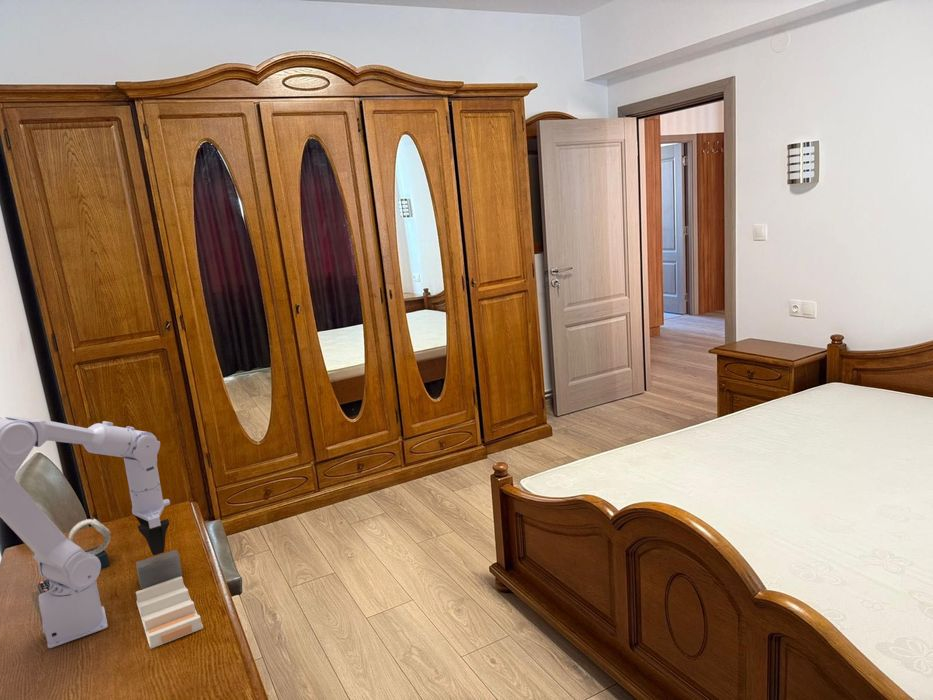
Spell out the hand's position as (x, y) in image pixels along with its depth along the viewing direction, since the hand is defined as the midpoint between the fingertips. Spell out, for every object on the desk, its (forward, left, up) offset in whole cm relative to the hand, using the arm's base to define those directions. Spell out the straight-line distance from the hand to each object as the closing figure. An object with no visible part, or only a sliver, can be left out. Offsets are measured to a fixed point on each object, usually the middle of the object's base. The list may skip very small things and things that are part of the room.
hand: (155, 545), depth 130 cm
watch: (-11, +16, -8) cm, 21 cm away
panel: (0, 0, -8) cm, 8 cm away
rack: (-1, -15, -8) cm, 17 cm away
